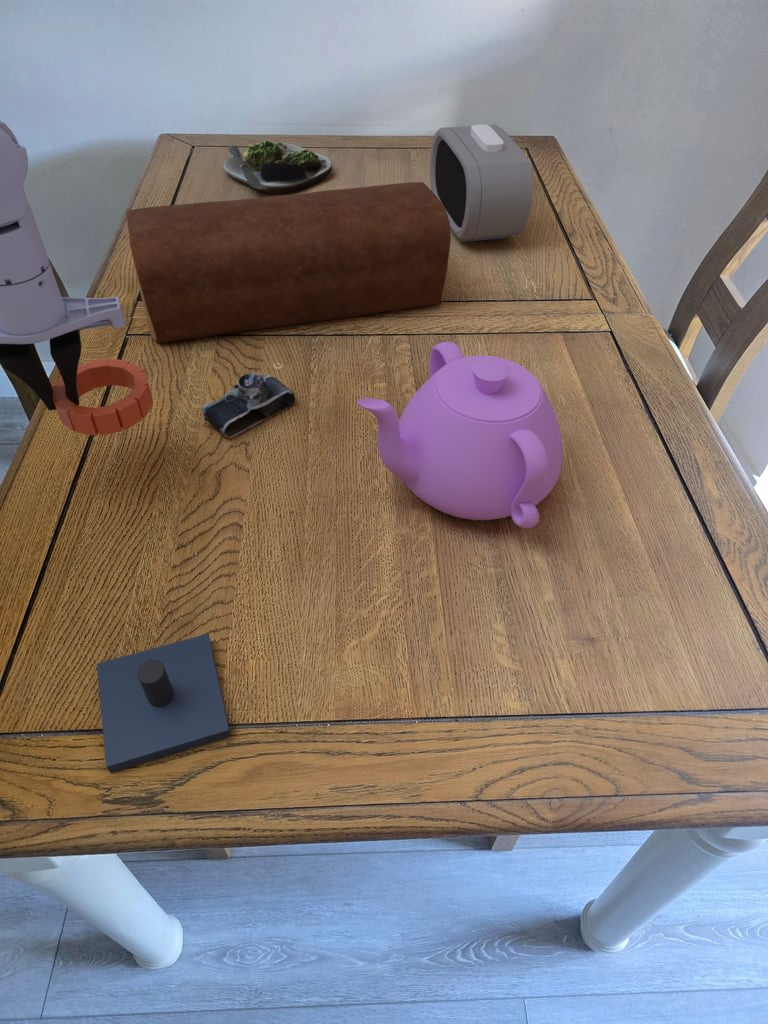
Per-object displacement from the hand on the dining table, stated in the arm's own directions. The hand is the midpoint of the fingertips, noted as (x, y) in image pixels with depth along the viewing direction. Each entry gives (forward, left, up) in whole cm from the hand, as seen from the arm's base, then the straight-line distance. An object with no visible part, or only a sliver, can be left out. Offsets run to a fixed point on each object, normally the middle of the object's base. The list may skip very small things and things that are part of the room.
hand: (63, 401), depth 66 cm
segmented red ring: (+4, 0, -1) cm, 4 cm away
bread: (+29, +26, -10) cm, 40 cm away
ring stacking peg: (+4, -29, -9) cm, 30 cm away
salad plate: (+36, +66, -10) cm, 76 cm away
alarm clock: (+62, +40, -10) cm, 74 cm away
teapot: (+36, -13, -10) cm, 39 cm away
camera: (+18, +4, -10) cm, 20 cm away
